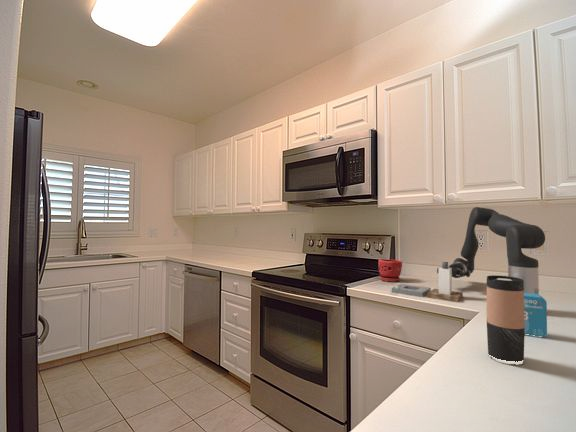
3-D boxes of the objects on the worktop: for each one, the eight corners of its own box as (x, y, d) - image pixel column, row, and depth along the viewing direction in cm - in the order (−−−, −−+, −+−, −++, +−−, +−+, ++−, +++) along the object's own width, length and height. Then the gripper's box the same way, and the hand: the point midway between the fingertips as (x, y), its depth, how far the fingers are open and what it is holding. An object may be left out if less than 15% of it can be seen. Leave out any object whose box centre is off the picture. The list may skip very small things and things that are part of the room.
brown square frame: (462, 296, 135) (462, 292, 135) (457, 302, 126) (457, 297, 126) (434, 292, 143) (434, 288, 143) (427, 297, 134) (427, 292, 134)
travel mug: (526, 358, 74) (525, 277, 74) (524, 369, 68) (523, 282, 68) (489, 349, 79) (488, 274, 79) (484, 359, 73) (483, 278, 73)
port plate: (430, 291, 145) (430, 286, 145) (422, 297, 134) (422, 291, 134) (401, 287, 154) (401, 282, 154) (391, 292, 143) (391, 286, 143)
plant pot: (397, 283, 164) (397, 262, 164) (374, 280, 172) (374, 260, 172) (405, 280, 174) (405, 259, 174) (383, 277, 182) (383, 258, 183)
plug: (451, 297, 135) (451, 262, 135) (449, 298, 131) (449, 262, 132) (441, 295, 137) (440, 261, 138) (438, 297, 134) (438, 262, 134)
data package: (497, 331, 92) (496, 292, 92) (495, 326, 96) (495, 289, 96) (547, 339, 86) (546, 297, 86) (543, 333, 90) (542, 294, 90)
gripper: (442, 261, 160) (434, 264, 148) (473, 263, 151) (467, 267, 139) (442, 275, 160) (434, 279, 148) (473, 278, 151) (467, 283, 139)
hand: (450, 273), depth 143 cm, fingers open, 8 cm apart
